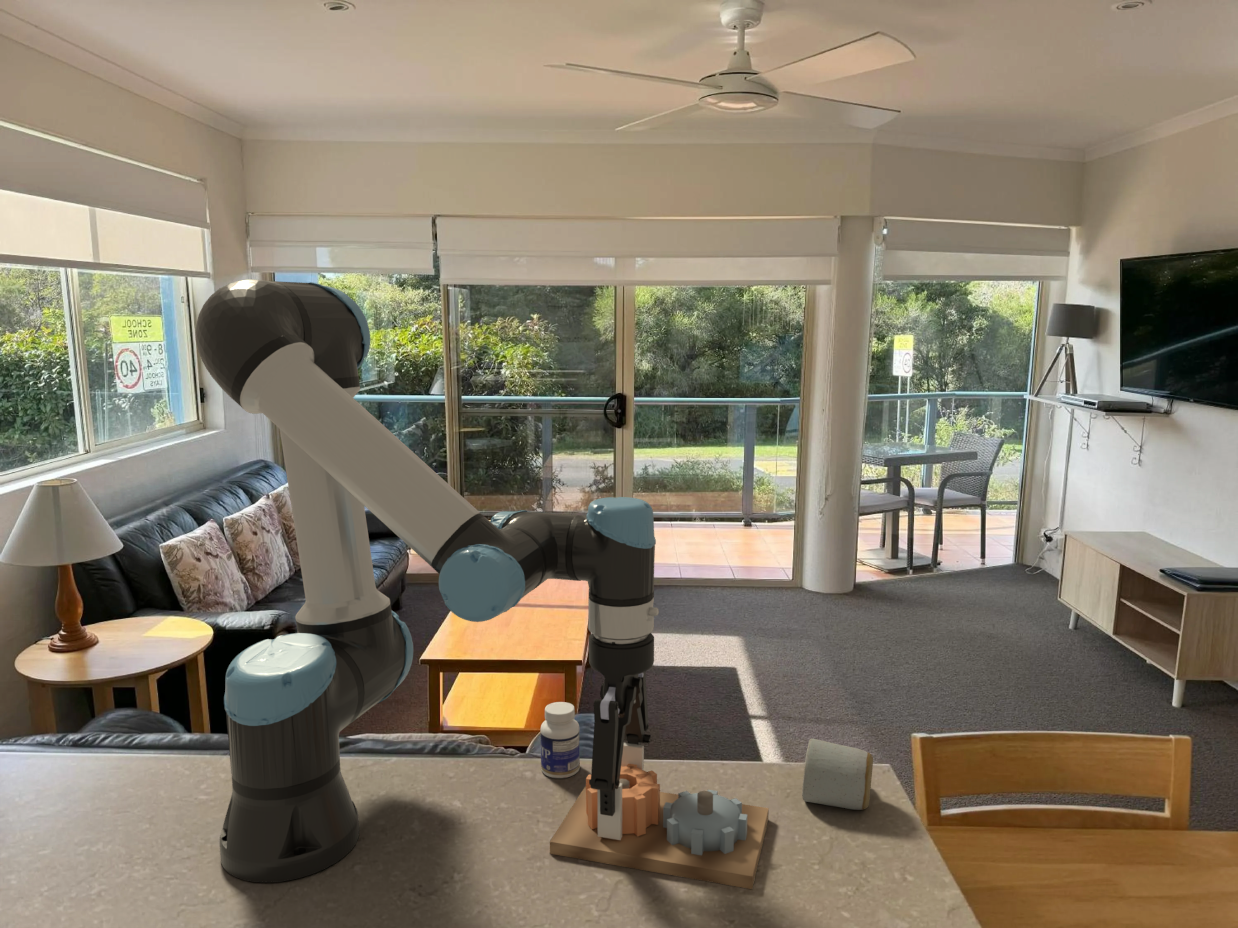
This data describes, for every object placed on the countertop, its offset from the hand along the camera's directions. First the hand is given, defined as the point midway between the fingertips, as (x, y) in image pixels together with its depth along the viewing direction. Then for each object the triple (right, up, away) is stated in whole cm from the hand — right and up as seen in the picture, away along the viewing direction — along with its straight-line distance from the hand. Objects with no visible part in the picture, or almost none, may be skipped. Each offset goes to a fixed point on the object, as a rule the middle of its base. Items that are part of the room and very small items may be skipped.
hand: (621, 814), depth 105 cm
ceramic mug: (+27, -1, +8) cm, 28 cm away
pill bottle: (-8, 0, +15) cm, 17 cm away
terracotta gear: (0, 0, 0) cm, 0 cm away
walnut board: (+5, -2, -1) cm, 5 cm away
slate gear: (+10, -1, -3) cm, 10 cm away
